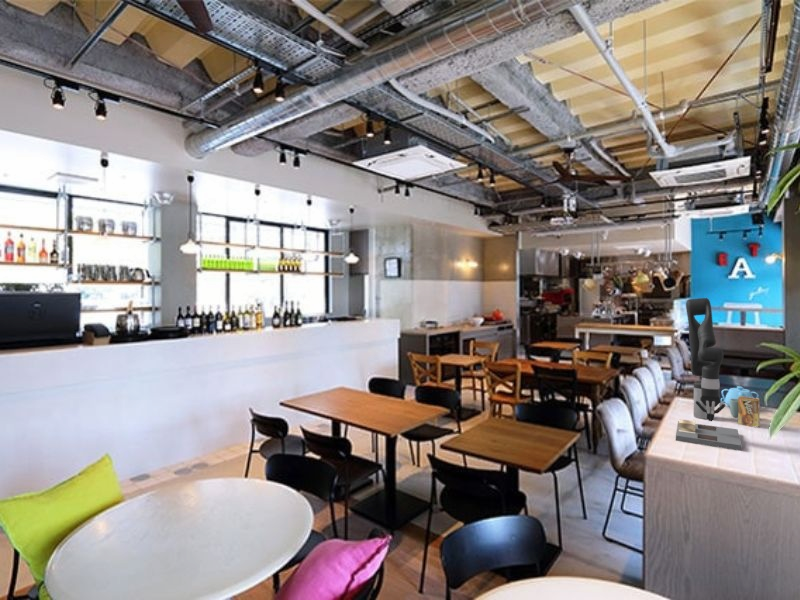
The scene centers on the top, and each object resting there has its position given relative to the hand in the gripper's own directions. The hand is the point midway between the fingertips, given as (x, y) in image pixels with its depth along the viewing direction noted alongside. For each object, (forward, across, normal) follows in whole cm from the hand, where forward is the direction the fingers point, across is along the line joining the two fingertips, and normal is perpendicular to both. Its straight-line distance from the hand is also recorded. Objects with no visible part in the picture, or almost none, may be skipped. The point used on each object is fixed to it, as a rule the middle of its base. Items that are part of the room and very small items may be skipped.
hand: (710, 420), depth 222 cm
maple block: (+6, +10, 0) cm, 12 cm away
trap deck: (+9, +1, 0) cm, 9 cm away
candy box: (+10, -18, -35) cm, 40 cm away
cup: (+10, -14, -50) cm, 53 cm away
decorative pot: (+10, -17, -75) cm, 78 cm away
